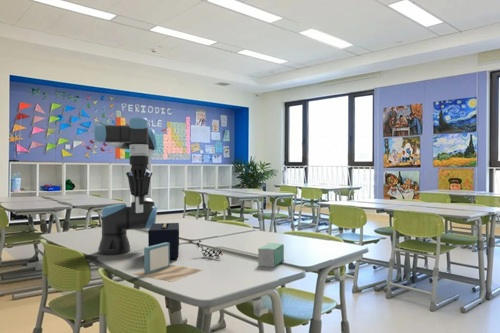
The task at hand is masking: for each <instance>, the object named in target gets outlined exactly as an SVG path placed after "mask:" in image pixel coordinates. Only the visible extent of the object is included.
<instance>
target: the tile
mask: <svg viewBox="0 0 500 333" xmlns="http://www.w3.org/2000/svg"><path fill="white" fill-rule="evenodd" d="M143 249H144V250H143V251H144V254H143V256H144V257H143V258H144V262H143V264H144V266H143V267H144V269H143V271H144V273H145V274H150V273H153V272H156V271H159V270H163V269H166V268H169V267H170V265H171V264H170V263H171V261H170V260H171V259H170V243H167V242H165V243H161V244H157V245H153V246H149V247H148V246H145V247H144V248H143Z"/></svg>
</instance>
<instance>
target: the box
mask: <svg viewBox="0 0 500 333" xmlns="http://www.w3.org/2000/svg"><path fill="white" fill-rule="evenodd" d="M284 247H285V246H284V244H283V243H274V242H273V243H272V242H270V243H266V244H265V245H263V246H261V247H259V248H258V249H257V252H258V254H257V256H258V262H257V264H258V266H259V267H267V268H269V267H270V268H275V267H276V266H278V265H279V264H281V261H282V260H283V261H284V260H285V257H284V256H285V248H284ZM283 261H282V262H283Z"/></svg>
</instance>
